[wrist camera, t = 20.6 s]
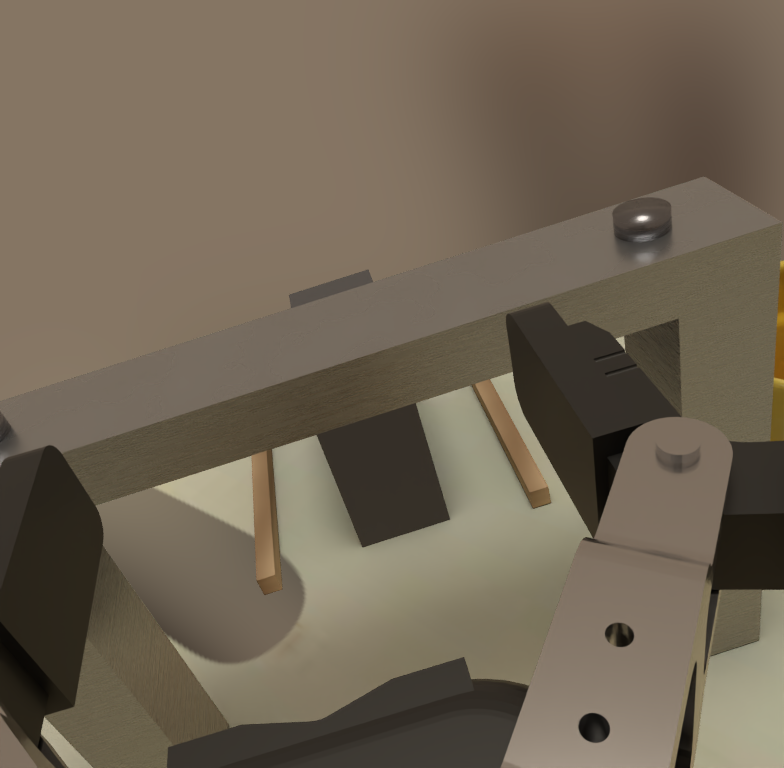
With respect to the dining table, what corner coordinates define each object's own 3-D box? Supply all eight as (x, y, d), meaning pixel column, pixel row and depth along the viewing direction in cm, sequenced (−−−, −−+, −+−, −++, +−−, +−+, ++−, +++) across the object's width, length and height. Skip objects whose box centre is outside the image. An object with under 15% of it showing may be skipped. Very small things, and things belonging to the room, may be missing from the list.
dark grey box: (362, 548, 40) (305, 407, 35) (335, 412, 51) (288, 287, 46) (450, 520, 41) (406, 374, 35) (404, 390, 51) (365, 262, 46)
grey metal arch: (158, 835, 30) (-161, 503, 19) (165, 744, 34) (-104, 415, 23) (759, 640, 31) (783, 201, 20) (707, 568, 34) (704, 158, 23)
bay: (264, 595, 39) (256, 580, 39) (256, 429, 52) (250, 416, 51) (550, 502, 40) (548, 486, 39) (474, 359, 52) (471, 345, 51)
